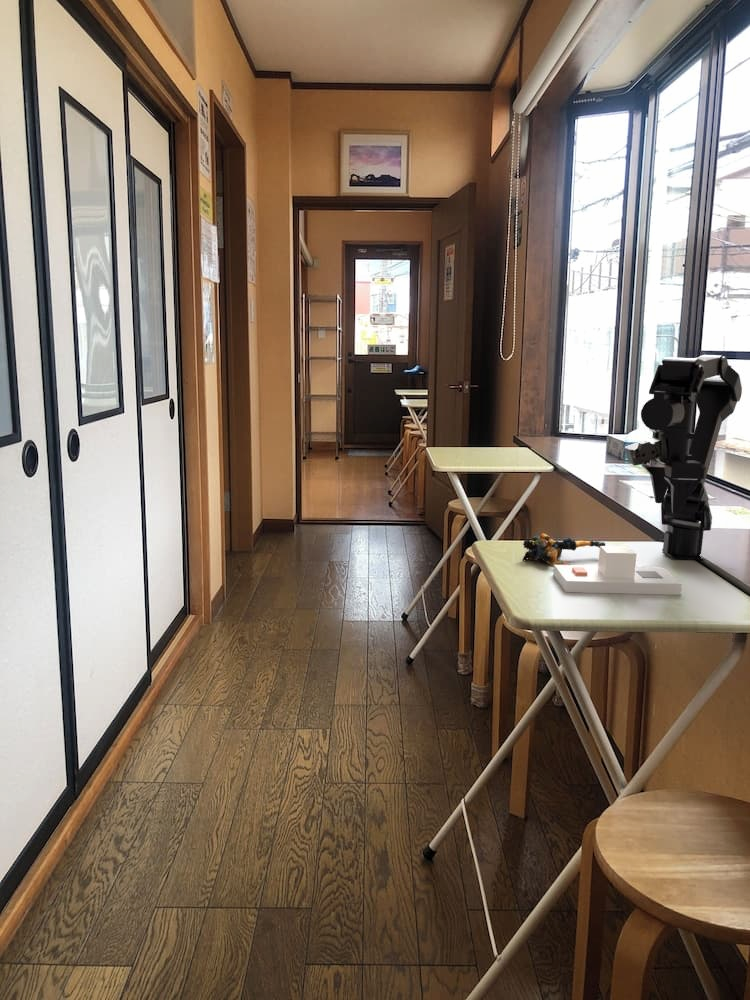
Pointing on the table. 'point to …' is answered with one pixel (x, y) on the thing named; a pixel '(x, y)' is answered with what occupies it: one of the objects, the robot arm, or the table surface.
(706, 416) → the robot arm
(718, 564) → the table surface
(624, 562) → the block
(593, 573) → the power strip
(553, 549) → the action figure
